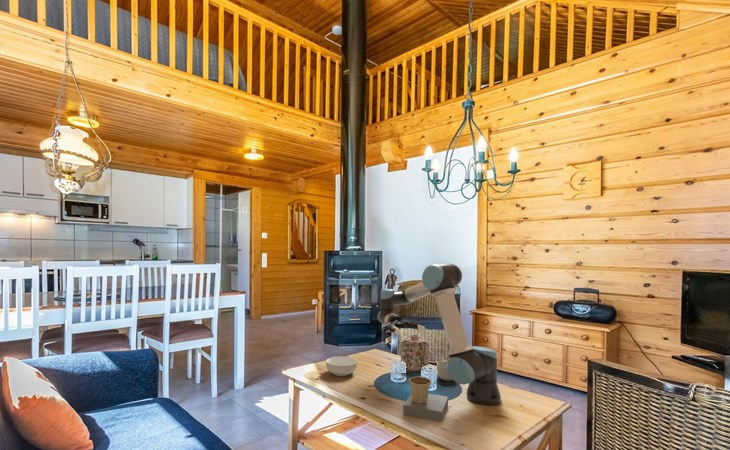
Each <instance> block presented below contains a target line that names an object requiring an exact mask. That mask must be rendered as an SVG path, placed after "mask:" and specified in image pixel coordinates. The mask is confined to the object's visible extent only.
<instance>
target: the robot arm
mask: <svg viewBox="0 0 730 450" xmlns="http://www.w3.org/2000/svg"><path fill="white" fill-rule="evenodd" d="M462 280H463V274H462V270H461V268H460V267H458V265H456V264H454V263H434V264H430V265H428V266H426V267H425V268H424V270H423V272H422V275H421V282H418V283H416V284H415V285H412V286H410V287H408V288H406V289H403V290H400V291H395V289H393V288H382V289H381V290H380V296H379V298H380V310H379V312H378V314H377V319H378V321H379V322H380V323H381V324H382V325H385V332H388V331H389V333H390V334H392V333H394V334H395V335H398V336H399V335H400V330H401V329H406V330H408V329H413V330H417V331H419V332H421V333H423V334H426V327H425V326H424V323H421V322H416V321H411V320H403V318H402V317H401V316H400V315H397V314H395V306H402V305H410V304H413V302H414V301H416V300H419V299H422V298H424V297H426V296H429V295H431V296H432V297H434V298H435V301H436V304H437V307H438V308H437V309H438V312H439V315H440V318H441V321H442V325H443V328H444V331H445V335H446V339H447V342H448V345H449V348H450V349H449V352H448V357H449V360H447V361H448V364H447V370H448V373H449V375H450V377H451V378H452V379H453V380H452V381H454V382H455V383H457V384H459V385H468V386H467V389H466V398H467V399H468V401H471V402H473V403H475V404H479V405H483V406H495V405H498V404H499V403H501V400H502V399H501V398H502V396H501V392H500V389H499V386H498V380H497V379H498V378H497V377H498V356H497V351H496V350H494V349H493V348H489V347H485V346H480V345H479V346H478V345H477V346H476V345H475V346H472V345H470V343H469V341H468V340H469V339H468V336H467V333H466V330H465V327H464V324H463V321H462V317H461V314H460V311H459V307H458V304H457V301H456V297H455V295H454V292H455V291H456V287H457V286H458V285H460V284H461V282H462Z"/></svg>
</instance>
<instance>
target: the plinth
mask: <svg viewBox="0 0 730 450" xmlns="http://www.w3.org/2000/svg"><path fill="white" fill-rule="evenodd" d="M448 407H449V397H448V396H445V395H439V394H434V393H428V398H427V402H426V403H421V404H420V403H415V402H414V401H413V400H412V392H411V393H410V395H409V396H408V397H407V399H406V400H405V402H404V404H403V406H402V409H403V411H402V412H403V413H402V415H403V416H408V417H414V418H417V419H424V420H429V421H434V422H441V423H442V422H443V419H444V417H445V415H446V412H447V409H448Z"/></svg>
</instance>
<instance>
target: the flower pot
mask: <svg viewBox="0 0 730 450" xmlns="http://www.w3.org/2000/svg"><path fill="white" fill-rule="evenodd" d="M408 380H409V383H410V388H411V389H410V390H411V393H412V400H413V401H414V402H415V403H420V404H421V403H426V402H427V398H428V394H429V391H430V386H431V384H432V380H431V379H430V378H428V377H425V376H413V377H410V378H409V379H408Z"/></svg>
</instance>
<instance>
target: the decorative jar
mask: <svg viewBox="0 0 730 450" xmlns="http://www.w3.org/2000/svg"><path fill="white" fill-rule="evenodd" d="M429 346H430V345H429V343H428V342H427V341H426V339H424V338H422V337H420V336H419V335H418V334H411V335H410V336H408V337H405V338H404V339H403V340H402V341H401V343H400V362H401V361H403V362H405V363H406V367H407V368H406V369H408V370H409V371H412V372H417V371H422V370H421V368H422V367H424V366H426V365H428V366H429V357H430V355H429V354H430V351H429Z"/></svg>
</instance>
